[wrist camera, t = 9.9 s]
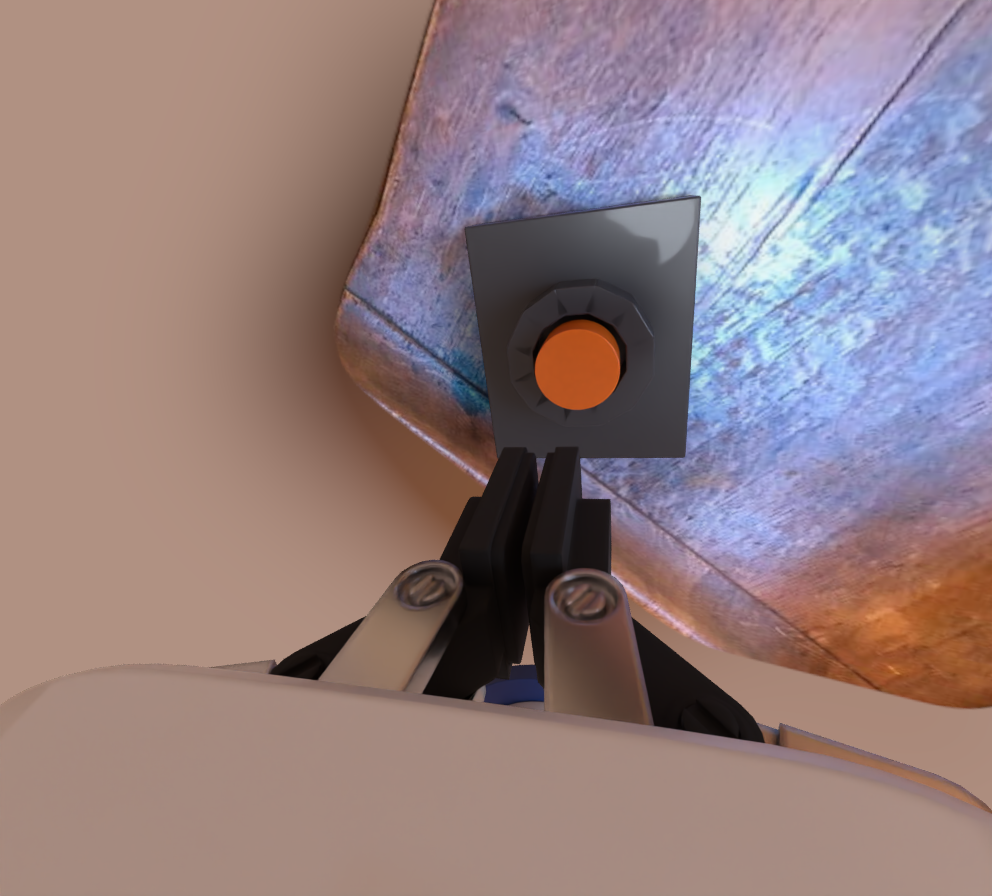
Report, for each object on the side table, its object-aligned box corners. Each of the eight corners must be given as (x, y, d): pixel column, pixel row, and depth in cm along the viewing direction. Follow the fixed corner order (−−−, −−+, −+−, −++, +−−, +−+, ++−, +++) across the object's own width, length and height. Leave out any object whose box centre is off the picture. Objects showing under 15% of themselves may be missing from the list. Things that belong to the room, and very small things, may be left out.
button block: (680, 438, 26) (689, 476, 23) (504, 441, 29) (489, 475, 25) (694, 194, 21) (709, 195, 17) (476, 224, 23) (451, 230, 20)
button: (620, 394, 22) (620, 409, 20) (543, 397, 23) (538, 411, 21) (619, 316, 20) (619, 325, 19) (537, 322, 21) (530, 332, 20)
